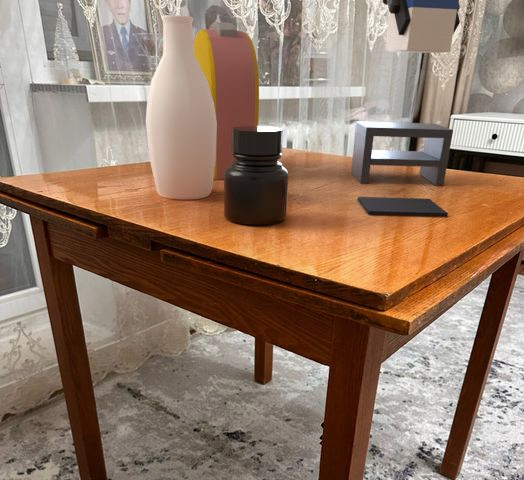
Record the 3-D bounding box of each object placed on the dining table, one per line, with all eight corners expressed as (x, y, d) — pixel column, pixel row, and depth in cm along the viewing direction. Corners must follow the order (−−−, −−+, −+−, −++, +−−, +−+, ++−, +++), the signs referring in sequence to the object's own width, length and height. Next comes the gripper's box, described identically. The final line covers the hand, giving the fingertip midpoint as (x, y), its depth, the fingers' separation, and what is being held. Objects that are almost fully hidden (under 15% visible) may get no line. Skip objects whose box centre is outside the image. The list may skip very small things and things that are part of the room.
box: (425, 52, 90) (436, -28, 85) (450, 52, 82) (465, -37, 77) (384, 51, 89) (394, -30, 84) (406, 50, 81) (418, -40, 76)
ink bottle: (300, 218, 78) (306, 129, 72) (263, 230, 72) (266, 134, 66) (248, 207, 83) (249, 123, 78) (209, 218, 77) (207, 127, 71)
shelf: (426, 174, 114) (434, 123, 110) (443, 185, 104) (453, 129, 99) (351, 172, 114) (356, 121, 109) (360, 183, 103) (366, 127, 99)
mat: (428, 202, 90) (429, 198, 90) (447, 217, 82) (448, 213, 81) (357, 200, 90) (357, 196, 90) (368, 214, 81) (368, 210, 81)
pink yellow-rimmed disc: (258, 178, 105) (262, 20, 93) (212, 179, 103) (210, 17, 90) (231, 161, 123) (232, 26, 111) (192, 161, 120) (187, 24, 108)
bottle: (139, 198, 87) (124, 12, 75) (165, 185, 96) (156, 19, 85) (205, 203, 85) (201, 13, 73) (225, 190, 94) (224, 20, 82)
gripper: (449, -55, 93) (477, 51, 86) (336, -64, 89) (357, 46, 83) (471, -103, 86) (504, 9, 79) (350, -114, 82) (374, 2, 76)
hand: (429, 28), depth 81 cm, fingers closed on box, 7 cm apart
